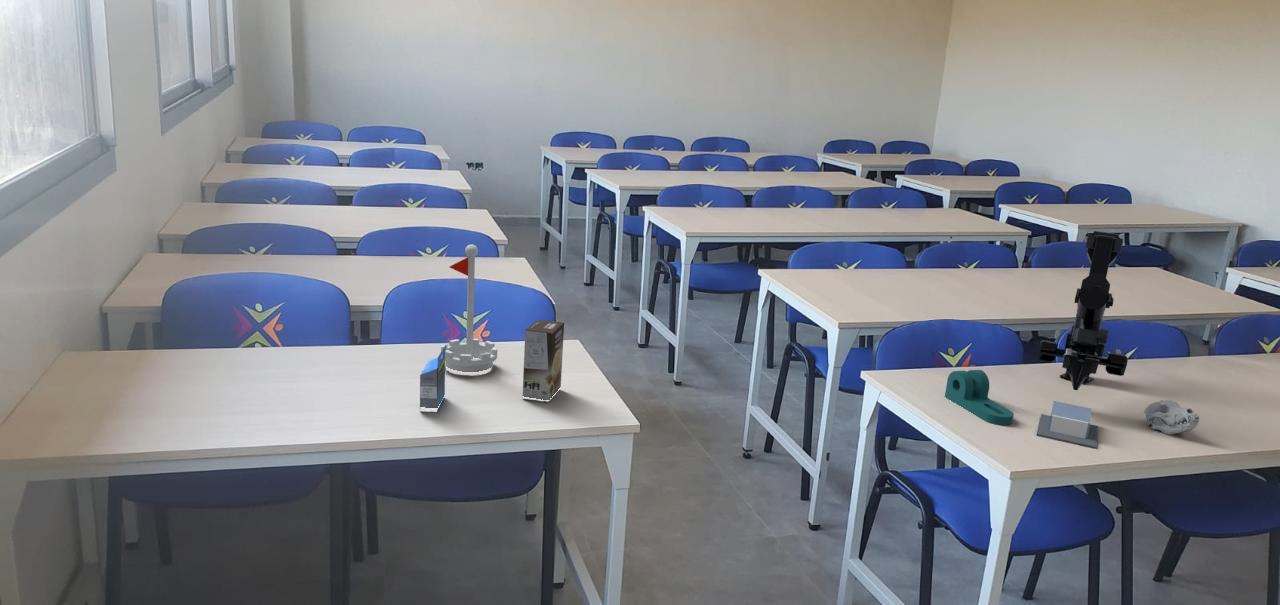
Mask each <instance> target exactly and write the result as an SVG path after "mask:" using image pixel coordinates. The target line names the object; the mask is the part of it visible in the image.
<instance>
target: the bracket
mask: <svg viewBox="0 0 1280 605" xmlns="http://www.w3.org/2000/svg"><path fill="white" fill-rule="evenodd" d="M989 392H990V379H989V377H988V375H987V374H986V372H985V371H984V370H982V369H970V370H953V371H952V372H950V373H949V375H948V378H947V380H946V386H945V392H944V398H945V397H946V398H945V399H947V400H949V401H950V400H951V403H952V402H953V403H954V404H955V403H956V404H955V405H957V406H959V407H960V406H961V407H960V408H962V407H963V408H962V409H964V410H965V409H966V410H965V411H967V410H968V411H967V412H969V413H970V412H971V413H970V414H972V413H973V415H974V416H975V415H976V416H975V417H978V418H979V419H981V420H982V421H984V422H986V423H988V424H991V425H996V426H1001V427H1002V426H1004V427H1006V426H1011V425H1012V424H1013V421H1014V415H1015V413H1014V412H1013V411H1012V410H1010V409H1008V408H1007V407H1004V406H1003V405H1001V404H999V403H997V401H994V400H992V399H991V398H989Z"/></svg>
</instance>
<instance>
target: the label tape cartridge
mask: <svg viewBox="0 0 1280 605" xmlns="http://www.w3.org/2000/svg"><path fill="white" fill-rule="evenodd" d="M445 352H446V345H445V347H444V348H443V350H442V351H441V350H440V353H439V355H438V356H437V357H435V358H433V359H430V360H428V361H427V363H426V365H425V366H424V368H423V370H422V372H421V373H420V375H419V408H420V407H425V408H438V406H439V404H440V403H441V401H442V399H443V397H444V395H445V396H446V362H445ZM442 354H443V356H442Z"/></svg>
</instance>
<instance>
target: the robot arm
mask: <svg viewBox="0 0 1280 605" xmlns="http://www.w3.org/2000/svg"><path fill="white" fill-rule="evenodd" d="M1119 235H1120V234H1119V233H1113V232H1106V231H1100V230H1099V231H1098V230H1093V233H1091V234H1090V233H1088V234H1087V237H1086V243H1085V249H1087V253H1086V256H1087V259H1088V261H1089V263H1090V266H1089V267H1090V268H1089V271H1088V272H1089V273H1088V276H1086V277H1085V278H1083V279H1082V281H1081V285H1080V287H1078V288H1077V289H1076V292H1075V295H1074V296H1075V298H1074V301H1073V302H1074V304H1077V307H1076V315H1075V319H1074V323H1073V325H1072V326H1071V331H1070V332H1067V336H1066V341H1065V345H1064V349H1062V348H1058V346H1059V342H1057V341H1051V340H1045V339H1043V340H1041V341H1039V344H1038V350H1037V357H1036V360H1038V361H1041V362H1045V363H1050V364H1051V363H1053V362H1056V357H1057V358H1061V359H1062V360H1063V361H1062V366H1061V367H1062V368H1063V369H1066V370H1065V372H1064V373H1062V374H1060V375H1059V378H1061V379H1064V380H1069V381H1070V382H1071V384H1072V385H1071V386H1072V390H1073V391H1078V390H1079V389H1080V387H1081V386H1082V385H1086V384H1088V383H1090V382H1093V381H1094V379H1095V378H1094V377H1091V376H1090V375H1091V374H1092V375H1093V374H1094V375H1095V374H1097V370H1098V367H1099V366H1105V368H1104V369H1105V372H1107V374H1109V375H1113V376H1119V377H1122V376H1125V372H1126V369H1127V366H1128V359H1129V357H1128V356H1127V354H1123V353H1117V352H1111V351H1109V352H1108V356H1103V354H1104V351H1105V348H1106V347H1105V346H1106V344H1107V339H1108V336H1109V335H1108V334H1109V329H1102V322H1103V318H1104V315H1105V311H1106V309H1110V307H1113V305H1114V300H1115V299H1114V297H1113V293H1110V288H1111V283H1110V282H1109V280H1108V279H1107V276H1108V271H1109V270H1108V269H1109V267H1110V266H1111V265H1112V264H1113V263H1114V262H1115V261H1116V259H1117V256H1118V253H1119V254H1121V253H1122V247H1123V242H1124V238H1121V237H1120V236H1119Z"/></svg>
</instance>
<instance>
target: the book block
mask: <svg viewBox="0 0 1280 605" xmlns="http://www.w3.org/2000/svg"><path fill="white" fill-rule="evenodd" d="M1050 412H1051V413H1050V415H1049V416H1050V421H1049V426H1048V430H1050V431H1052V432H1057V433H1062V434H1066V435H1071V436H1075V437H1080V438H1086V439H1087V437H1088V432H1089V427H1090V424H1091V417H1092V408H1090V407H1085V406H1081V405H1075V404H1072V403H1071V404H1070V403H1067V402H1062V401H1057V400H1053V403H1052V408H1051V411H1050Z"/></svg>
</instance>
